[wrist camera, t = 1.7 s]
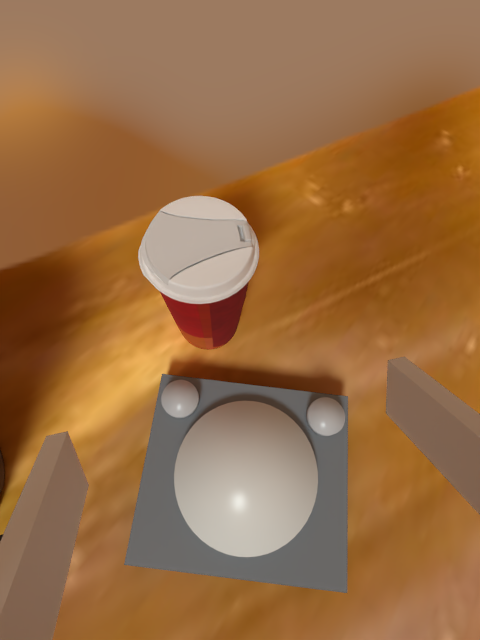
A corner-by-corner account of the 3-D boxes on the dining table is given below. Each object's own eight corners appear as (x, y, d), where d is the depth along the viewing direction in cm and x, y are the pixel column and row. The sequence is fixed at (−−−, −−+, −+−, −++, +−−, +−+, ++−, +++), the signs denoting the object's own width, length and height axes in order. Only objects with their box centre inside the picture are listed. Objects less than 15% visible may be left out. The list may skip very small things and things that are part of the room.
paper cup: (240, 281, 38) (247, 182, 25) (255, 353, 35) (272, 283, 22) (163, 293, 37) (128, 197, 24) (172, 367, 34) (139, 304, 21)
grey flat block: (340, 400, 33) (351, 394, 31) (339, 584, 28) (351, 597, 25) (165, 379, 34) (160, 371, 31) (131, 558, 28) (120, 568, 25)
